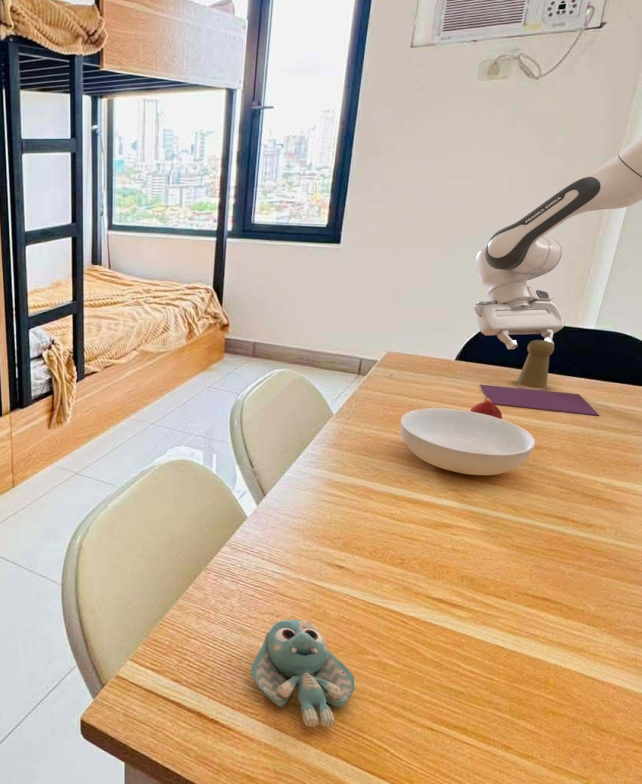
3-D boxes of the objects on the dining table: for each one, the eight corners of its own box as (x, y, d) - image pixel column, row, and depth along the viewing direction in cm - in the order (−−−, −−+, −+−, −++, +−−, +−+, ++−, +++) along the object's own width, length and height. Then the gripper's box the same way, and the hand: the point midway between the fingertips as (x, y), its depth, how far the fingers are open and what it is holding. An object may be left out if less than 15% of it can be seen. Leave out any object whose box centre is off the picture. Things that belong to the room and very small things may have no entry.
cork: (521, 378, 160) (531, 336, 157) (549, 383, 156) (561, 341, 152) (513, 383, 157) (523, 340, 153) (542, 389, 152) (553, 345, 149)
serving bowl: (370, 453, 121) (376, 420, 118) (438, 432, 130) (445, 401, 127) (481, 500, 103) (490, 463, 101) (551, 472, 112) (561, 437, 110)
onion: (496, 432, 129) (505, 396, 126) (498, 443, 124) (507, 405, 121) (463, 427, 132) (471, 391, 129) (464, 437, 127) (472, 400, 124)
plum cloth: (578, 395, 148) (579, 394, 148) (598, 415, 136) (599, 414, 136) (479, 385, 156) (479, 384, 156) (490, 404, 144) (490, 402, 144)
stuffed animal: (271, 698, 59) (244, 597, 69) (260, 741, 63) (236, 640, 73) (387, 701, 59) (342, 599, 69) (370, 744, 62) (330, 641, 73)
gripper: (480, 295, 158) (499, 342, 153) (557, 292, 160) (579, 339, 154) (464, 308, 164) (482, 354, 158) (539, 306, 165) (559, 352, 159)
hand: (531, 347), depth 156 cm, fingers open, 8 cm apart
